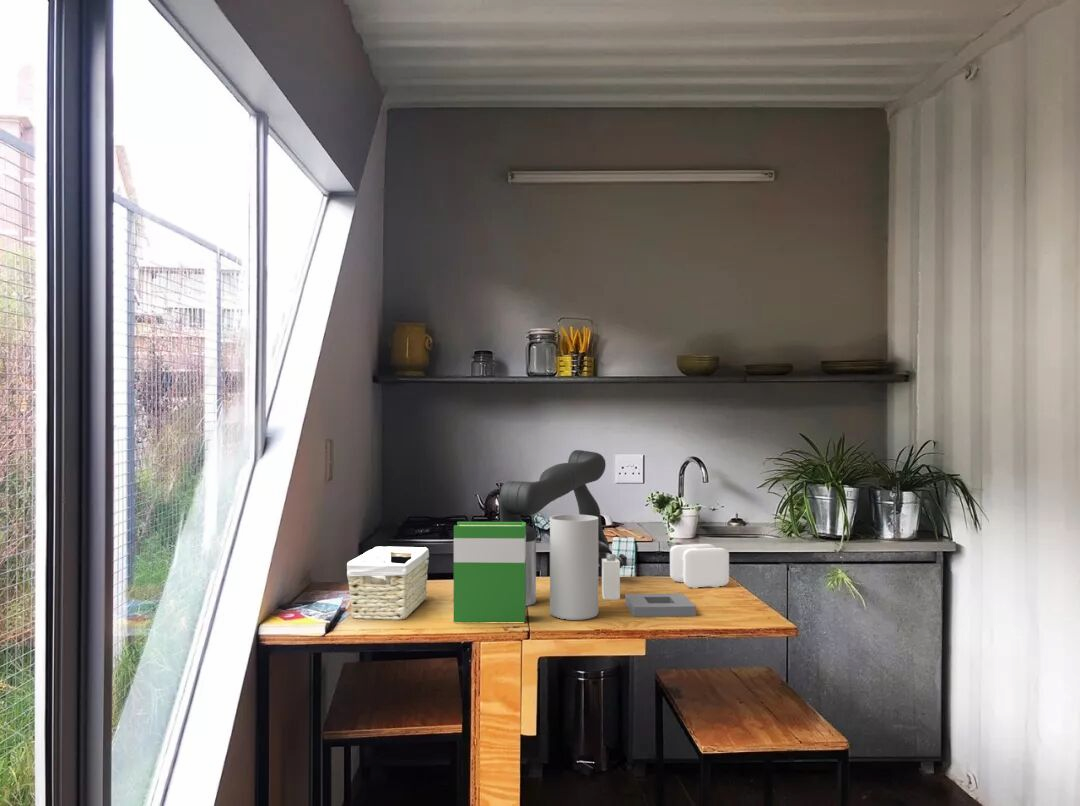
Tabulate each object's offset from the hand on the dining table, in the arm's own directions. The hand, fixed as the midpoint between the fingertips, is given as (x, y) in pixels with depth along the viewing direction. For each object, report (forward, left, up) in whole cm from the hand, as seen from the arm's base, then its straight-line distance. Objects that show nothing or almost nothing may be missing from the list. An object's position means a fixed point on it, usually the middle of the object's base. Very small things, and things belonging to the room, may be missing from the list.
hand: (605, 564), depth 226 cm
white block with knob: (0, -11, -7) cm, 13 cm away
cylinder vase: (-12, -29, -7) cm, 32 cm away
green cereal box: (-34, -32, -7) cm, 47 cm away
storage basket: (-61, -21, -7) cm, 64 cm away
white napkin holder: (+29, +4, -7) cm, 30 cm away
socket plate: (+11, -25, -7) cm, 28 cm away
